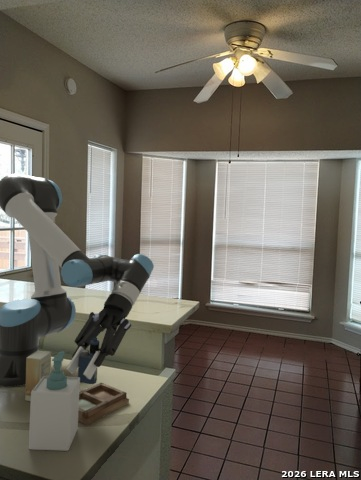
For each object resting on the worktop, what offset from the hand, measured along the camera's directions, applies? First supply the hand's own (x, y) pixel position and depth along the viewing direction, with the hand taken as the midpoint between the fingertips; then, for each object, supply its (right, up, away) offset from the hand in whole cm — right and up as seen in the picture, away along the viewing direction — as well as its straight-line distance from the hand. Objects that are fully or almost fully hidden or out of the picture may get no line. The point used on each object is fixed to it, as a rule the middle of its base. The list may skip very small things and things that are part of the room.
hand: (78, 373), depth 95 cm
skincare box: (-14, -10, +10) cm, 20 cm away
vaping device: (+1, -3, +3) cm, 5 cm away
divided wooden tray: (+2, -11, +6) cm, 13 cm away
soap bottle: (-3, -12, -10) cm, 15 cm away
